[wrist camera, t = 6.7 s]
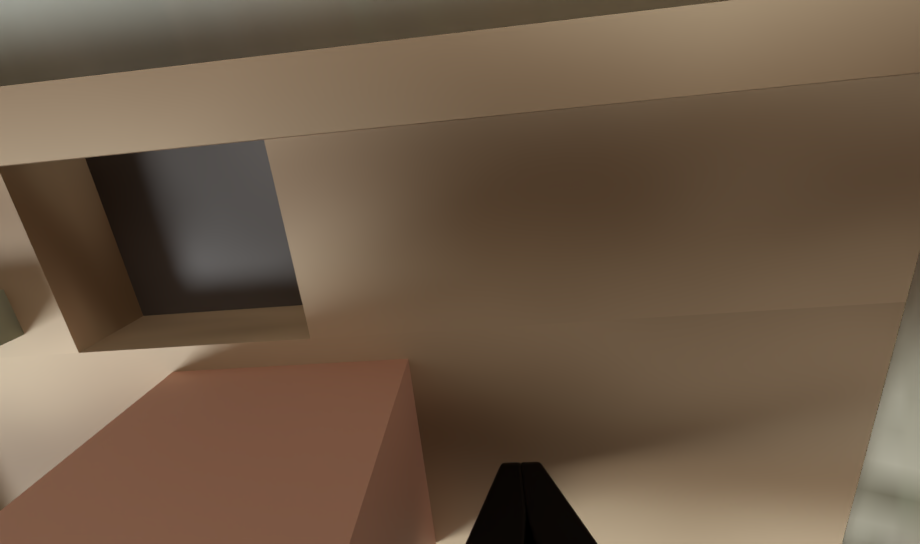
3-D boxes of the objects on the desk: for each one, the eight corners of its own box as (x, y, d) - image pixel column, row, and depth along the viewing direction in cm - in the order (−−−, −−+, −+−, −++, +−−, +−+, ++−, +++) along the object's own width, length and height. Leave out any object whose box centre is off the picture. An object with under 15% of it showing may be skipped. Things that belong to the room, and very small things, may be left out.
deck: (756, 610, 13) (866, 806, 9) (94, 616, 15) (-37, 782, 11) (869, 21, 8) (1216, -68, 4) (-168, 137, 10) (-579, 147, 6)
